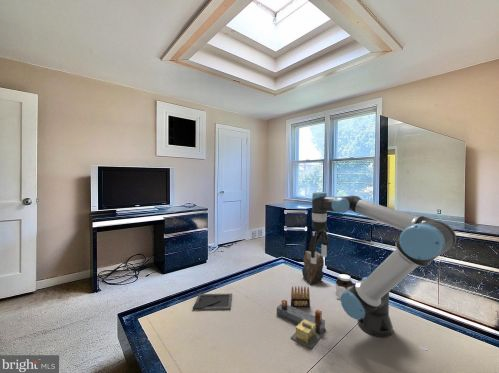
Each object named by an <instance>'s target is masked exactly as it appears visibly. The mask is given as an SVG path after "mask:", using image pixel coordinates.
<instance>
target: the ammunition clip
mask: <svg viewBox="0 0 499 373" xmlns="http://www.w3.org/2000/svg"><path fill="white" fill-rule="evenodd" d="M310 295H311V294H310V285H309V286H307V287H306V286H304V287H303V286H302V285H301V287H300V286H299V285H298V287H297V285H296V286H295V287H294V285H293V286H292V287H291V292H290V306H292V307H294V308H297V309H310V308H311V300H310V297H311V296H310Z"/></svg>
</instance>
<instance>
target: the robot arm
mask: <svg viewBox="0 0 499 373" xmlns="http://www.w3.org/2000/svg"><path fill="white" fill-rule="evenodd" d="M311 195H312V196H311V205H312V206H311V208H312V209H311V220H312V221H311V227H312V229H314V231H311V234H310V235H311V236H310V242H309V245H308V251H309V252H311V263H313V264H316V252H317V246H318V244H319V241H321V256H323V258H327V255H328V254H327V253H328V252H327V250H328V249H327V248H328V247H327V246H329V245H330V244H329V238H328V232H327V227H328V226H327V223H328V222H327V219H328V216H327V215H328V214H327V212H332V213H337V214H345V213H347V212H353V213H355V214H358V215H361V216H364V217H366V218H368V219H371V220H374V221H377V222H379V223H382V224H384V225H387V226H390V227H392V228H394V229H397V230H399V231H402V232H401V233H400V235H399V239H398V240H397V241H396V242H395V247H396V248H395V250H393V251H392V252H391V254H390V255H388V257H386V258H385V259H384V261H382V262H381V263H380V265H378V266H377V267H376V268H375V269H374V270H373V271H372V272H371V273H370V274H369V275H368V276H365V277H362V279H361V280H358V281H356V282H355V284H353V285H354V286H353V287H352V288H351V289H349V290H348V291H344V293H342V295H341V298H340V299H339V300H340V302H341V303H340V304H341V307H342V309H343V310H344V312H345V313H346V314H347V315H348V316H349V317H350V318H352V319H353V320H357V325H358V327H359V328H360V329H361V330H362V331H364V333H366V334H370V335H372V336H375V337H379V338H387V337H390V336H392V335H393V333H394V330H393V328H394V327H393V323H392V321H391V317H390V315H389V313H390V312H389V310H390V306H389V305H390V292H391V290H392V289H393V288H394V287H396V286H397V285H398V284H399V283H401V281H403V280H404V278H406V277H408V276H409V275H410V273H412V272H413V271H414V270H415V269H417V268H418V267H423V268H424V267H427V266H428V265H429V264H430V263H432V262H433V261H434V260H435V259H437V258H438V257H439V256H440V255H442V254H444V253H446V252H448V251H450V250H452V249H453V248H454V246H455V245H456V242H457V235H456V231H455V230H454V229H453V228H452V227H451V226H450V225H449V224H448V223H445V222H443V221H441V220H437V219H434V218H430V217H427V216H423V215H419V216H415V215H412V214H409V213H406V212H403V211H400V210H397V209H393V208H390V207H387V206H385V205H381V204H378V203H375V202H371V201H368V200H365V199H362V198H361V197H360V196H357V195H345V196H328V195H327V192H323V191H314V192H313V193H312V194H311Z"/></svg>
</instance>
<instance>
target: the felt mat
mask: <svg viewBox="0 0 499 373" xmlns="http://www.w3.org/2000/svg"><path fill="white" fill-rule="evenodd" d="M321 338H322V335H321V334H320V335H319V334H317V333H316V335H315V336H314V338H313V339H312V340H311V341H310V343H309V344H306V343H304V342H302V341H300V340H298V339H296V331H295V332H294V333H293V334H292V335H291V336H290V340H292V341H294V342H296V343H298V344H300V345H302V346H304V347H305V348H308V350H309V349H310V350H312V349H313V348H314V347H315V345H316V344H317V343H318V341H319V340H320V339H321Z"/></svg>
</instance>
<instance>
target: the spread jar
mask: <svg viewBox="0 0 499 373" xmlns="http://www.w3.org/2000/svg"><path fill="white" fill-rule="evenodd" d="M354 285H355V284H354V283H353V281H352V279H351V275H348V274H344V273H342V274H338V278H337V279H336V281H335V296H336V298H338V299H339V300H340V298H341V295H342V293H344V291H348V290H349V289H351V288H352V287H353V286H354Z"/></svg>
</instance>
